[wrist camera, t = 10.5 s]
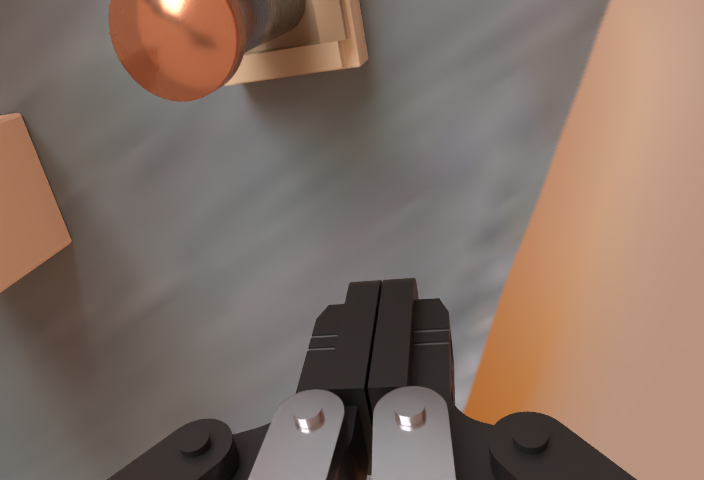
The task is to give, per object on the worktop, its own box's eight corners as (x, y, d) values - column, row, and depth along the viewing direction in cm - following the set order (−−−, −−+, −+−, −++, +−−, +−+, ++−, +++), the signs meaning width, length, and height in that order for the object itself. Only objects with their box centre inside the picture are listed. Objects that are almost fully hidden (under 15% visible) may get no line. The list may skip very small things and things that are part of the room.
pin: (241, 54, 31) (131, 107, 22) (220, -44, 29) (91, -30, 20) (327, 44, 29) (247, 95, 21) (311, -59, 28) (215, -51, 19)
